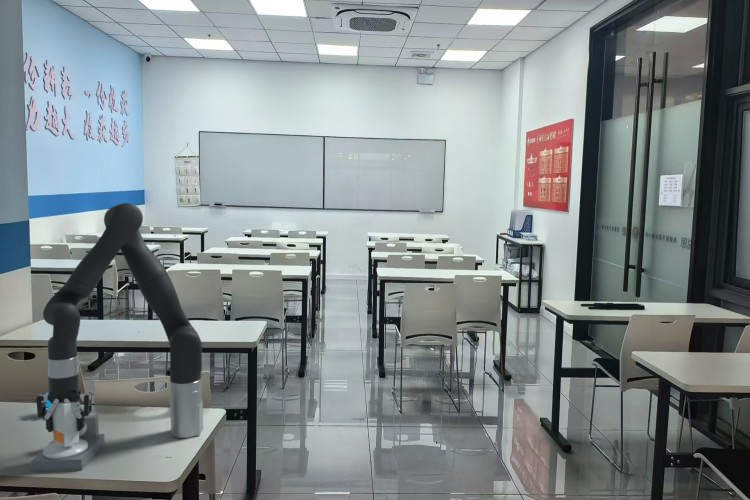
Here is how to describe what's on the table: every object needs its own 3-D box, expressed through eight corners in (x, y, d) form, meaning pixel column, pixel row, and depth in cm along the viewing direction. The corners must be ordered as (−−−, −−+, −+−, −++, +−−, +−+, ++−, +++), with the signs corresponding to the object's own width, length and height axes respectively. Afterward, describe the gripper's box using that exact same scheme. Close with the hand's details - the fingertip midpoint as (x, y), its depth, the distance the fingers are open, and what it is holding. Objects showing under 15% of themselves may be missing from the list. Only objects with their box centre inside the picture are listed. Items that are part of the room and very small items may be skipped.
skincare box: (52, 442, 160) (51, 400, 159) (67, 437, 163) (66, 396, 162) (64, 447, 157) (63, 405, 156) (79, 442, 160) (78, 400, 159)
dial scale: (104, 443, 172) (103, 414, 171) (82, 470, 155) (81, 438, 154) (59, 444, 171) (58, 415, 170) (31, 471, 154) (30, 439, 153)
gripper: (95, 368, 163) (97, 424, 164) (42, 369, 161) (44, 426, 163) (85, 376, 155) (87, 435, 157) (29, 377, 154) (31, 437, 155)
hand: (65, 430), depth 160 cm, fingers closed on skincare box, 7 cm apart
